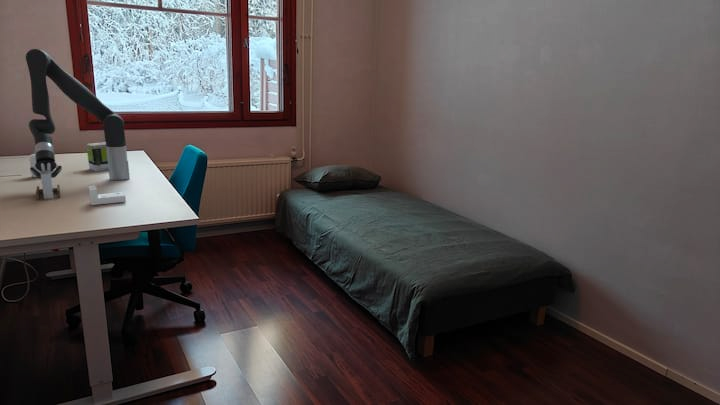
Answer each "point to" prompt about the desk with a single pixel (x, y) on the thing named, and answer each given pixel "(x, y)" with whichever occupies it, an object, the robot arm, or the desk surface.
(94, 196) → the bracket
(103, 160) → the tea box
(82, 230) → the desk surface
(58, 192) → the walnut box
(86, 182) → the desk surface
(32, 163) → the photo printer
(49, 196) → the grey rectangular block
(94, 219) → the desk surface
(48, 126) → the robot arm
